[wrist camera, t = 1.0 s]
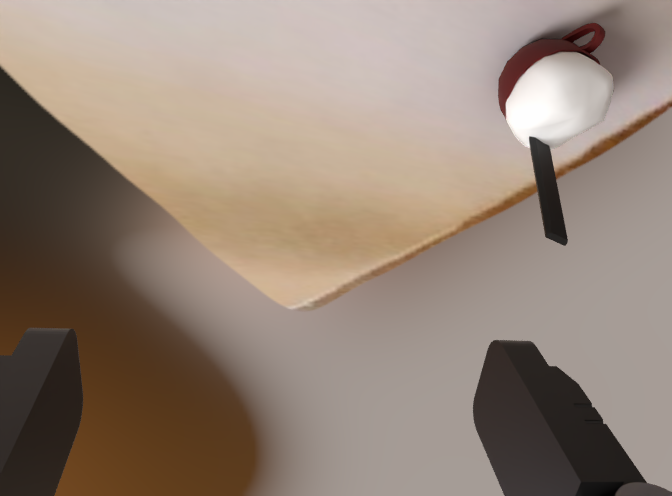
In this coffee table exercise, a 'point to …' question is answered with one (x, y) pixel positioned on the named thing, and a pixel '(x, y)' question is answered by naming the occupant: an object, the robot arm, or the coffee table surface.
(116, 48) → the coffee table surface
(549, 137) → the cocoa
